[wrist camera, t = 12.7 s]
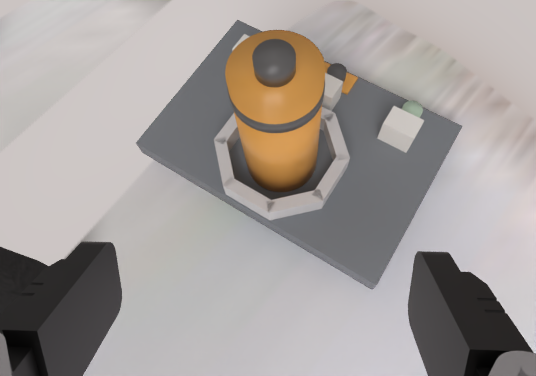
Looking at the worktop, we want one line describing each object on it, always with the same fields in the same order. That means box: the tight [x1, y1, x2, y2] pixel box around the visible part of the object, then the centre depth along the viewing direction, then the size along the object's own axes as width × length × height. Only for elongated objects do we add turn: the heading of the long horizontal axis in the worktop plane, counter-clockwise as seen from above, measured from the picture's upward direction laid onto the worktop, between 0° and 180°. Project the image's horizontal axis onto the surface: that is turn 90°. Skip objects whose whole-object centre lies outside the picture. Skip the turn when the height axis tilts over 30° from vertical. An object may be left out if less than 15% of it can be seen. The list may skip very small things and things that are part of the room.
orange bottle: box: [225, 30, 325, 192], centre depth 25 cm, size 5×5×11 cm
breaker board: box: [136, 20, 462, 289], centre depth 31 cm, size 19×13×4 cm
